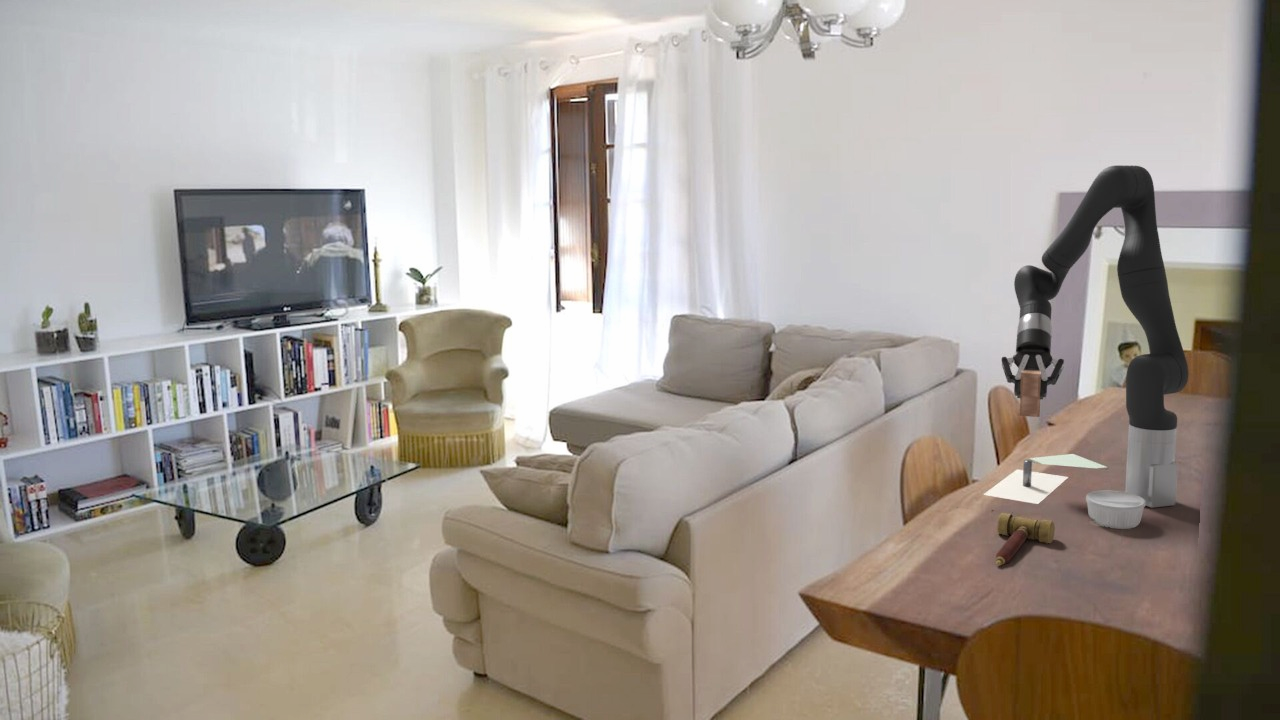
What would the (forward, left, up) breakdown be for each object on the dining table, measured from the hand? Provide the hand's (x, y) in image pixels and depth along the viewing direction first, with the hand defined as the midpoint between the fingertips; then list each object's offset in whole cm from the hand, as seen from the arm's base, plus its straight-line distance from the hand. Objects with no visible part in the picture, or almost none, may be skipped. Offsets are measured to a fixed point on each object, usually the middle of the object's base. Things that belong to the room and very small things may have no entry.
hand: (1030, 396), depth 213 cm
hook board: (+2, -1, -23) cm, 23 cm away
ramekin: (-22, -5, -23) cm, 32 cm away
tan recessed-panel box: (+2, -1, -5) cm, 5 cm away
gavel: (-30, +24, -23) cm, 45 cm away
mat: (+17, -23, -23) cm, 36 cm away
